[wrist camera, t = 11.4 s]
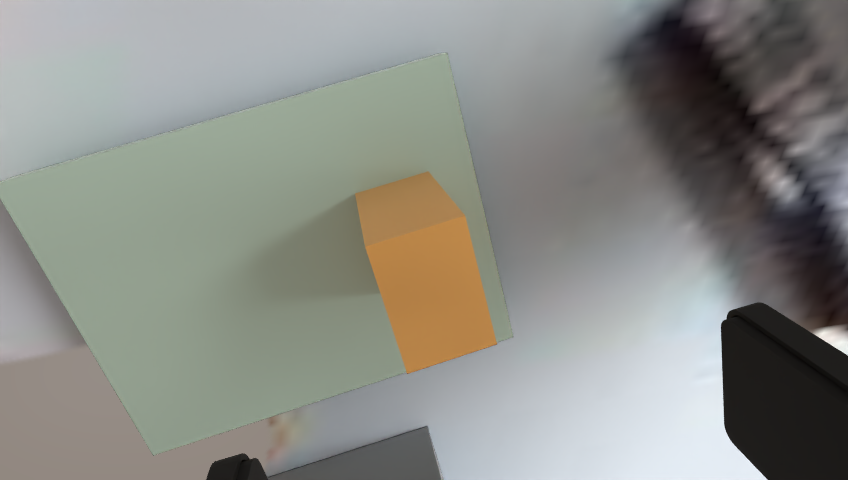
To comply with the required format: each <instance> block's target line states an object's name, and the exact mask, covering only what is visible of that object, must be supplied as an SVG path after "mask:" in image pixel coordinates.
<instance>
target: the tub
mask: <svg viewBox="0 0 848 480" xmlns="http://www.w3.org/2000/svg"><path fill="white" fill-rule="evenodd" d="M268 480H444V479H443V476H442V472H441V469H440V466H439V463H438V459H437V456H436V453H435V450H434V446H433V443H432V440H431V437H430V433H429V430H428V427H424V428H421V429H418V430H414V431H411V432H408V433H405V434H402V435H399V436H396V437H393V438H390V439H386V440H383V441H380V442H377V443H374V444H371V445H368V446H365V447H362V448H358V449H355V450H352V451H349V452H346V453H343V454H340V455H337V456H334V457H330V458H327V459H324V460H321V461H318V462H315V463H312V464H309V465H306V466H302V467H299V468H296V469H293V470H290V471H287V472H284V473H281V474H278V475H275V476H271V477H268Z"/></svg>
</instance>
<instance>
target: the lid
mask: <svg viewBox="0 0 848 480" xmlns="http://www.w3.org/2000/svg"><path fill="white" fill-rule="evenodd" d="M0 199H1V201H2V203H3V204H4V206H5V208H6V209H7V211H8V213H9V214H10V216H11V218H12V219H13V221H14V223H15V224H16V226H17V228H18V229H19V231H20V233H21V234H22V236H23V238H24V239H25V241H26V243H27V245H28V246H29V248H30V250H31V251H32V253H33V255H34V256H35V258H36V260H37V261H38V263H39V265H40V266H41V268H42V270H43V271H44V273H45V275H46V276H47V278H48V280H49V282H50V283H51V285H52V287H53V288H54V290H55V292H56V293H57V295H58V297H59V298H60V300H61V302H62V303H63V305H64V307H65V308H66V310H67V312H68V313H69V315H70V317H71V318H72V320H73V322H74V324H75V325H76V327H77V329H78V330H79V332H80V334H81V335H82V337H83V339H84V340H85V342H86V344H87V345H88V347H89V349H90V350H91V352H92V354H93V355H94V357H95V359H96V361H97V362H98V364H99V366H100V367H101V369H102V371H103V372H104V374H105V375H106V377H107V379H108V380H109V382H110V384H111V386H112V387H113V389H114V391H115V392H116V394H117V396H118V397H119V399H120V400H121V403H122V404H123V406H124V407H125V409H126V411H127V413H128V414H129V416H130V418H131V419H132V421H133V423H134V424H135V426H136V428H137V429H138V431H139V433H140V434H141V436H142V438H143V439H144V441H145V443H146V445H147V446H148V448H149V450H150V451H151V453H152V455H153V456H154V455H157V454H160V453H163V452H166V451H169V450H172V449H175V448H178V447H181V446H185V445H188V444H191V443H194V442H197V441H200V440H202V439H206V438H209V437H212V436H215V435H218V434H221V433H224V432H227V431H230V430H233V429H236V428H239V427H242V426H245V425H248V424H251V423H254V422H257V421H260V420H263V419H266V418H269V417H272V416H275V415H279V414H282V413H285V412H288V411H291V410H294V409H297V408H300V407H303V406H306V405H309V404H312V403H315V402H318V401H321V400H324V399H327V398H330V397H333V396H336V395H339V394H342V393H345V392H348V391H351V390H354V389H357V388H360V387H363V386H366V385H369V384H373V383H376V382H379V381H382V380H385V379H388V378H391V377H394V376H397V375H400V374H403V373H406V372H407V374H408V373H411V372H415V371H418V370H421V369H424V368H427V367H430V366H433V365H436V364H439V363H442V362H445V361H448V360H451V359H454V358H457V357H460V356H463V355H466V354H469V353H472V352H475V351H478V350H481V349H484V348H487V347H490V346H493V345H496V344H497V342H500V341H503V340H506V339H509V338H512V337H513V333H512V329H511V325H510V320H509V316H508V312H507V307H506V303H505V299H504V294H503V290H502V286H501V282H500V277H499V273H498V269H497V264H496V260H495V256H494V252H493V247H492V243H491V239H490V234H489V230H488V226H487V221H486V217H485V213H484V209H483V204H482V200H481V196H480V191H479V187H478V183H477V178H476V174H475V170H474V166H473V161H472V157H471V153H470V148H469V144H468V140H467V136H466V131H465V127H464V123H463V118H462V114H461V110H460V105H459V101H458V97H457V93H456V88H455V84H454V80H453V75H452V71H451V67H450V62H449V58H448V54H447V53H438V54H435V55H432V56H428V57H425V58H421V59H418V60H414V61H411V62H407V63H404V64H400V65H397V66H394V67H390V68H387V69H383V70H380V71H376V72H373V73H369V74H366V75H362V76H359V77H355V78H352V79H349V80H345V81H342V82H338V83H335V84H331V85H328V86H324V87H321V88H317V89H314V90H311V91H307V92H304V93H300V94H297V95H293V96H290V97H286V98H283V99H279V100H276V101H273V102H269V103H266V104H262V105H259V106H255V107H252V108H248V109H245V110H241V111H238V112H234V113H231V114H228V115H224V116H221V117H217V118H214V119H210V120H207V121H203V122H200V123H196V124H193V125H190V126H186V127H183V128H179V129H176V130H172V131H169V132H165V133H162V134H158V135H155V136H152V137H148V138H145V139H141V140H138V141H134V142H131V143H127V144H124V145H120V146H117V147H113V148H110V149H107V150H103V151H100V152H96V153H93V154H89V155H86V156H82V157H79V158H75V159H72V160H69V161H65V162H62V163H58V164H55V165H51V166H48V167H44V168H41V169H37V170H34V171H31V172H27V173H24V174H20V175H17V176H13V177H10V178H8V179H5V180H3V181H0Z"/></svg>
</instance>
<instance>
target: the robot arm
mask: <svg viewBox="0 0 848 480" xmlns="http://www.w3.org/2000/svg"><path fill="white" fill-rule="evenodd" d="M721 341H722V371H723V400H724V425H725V429H726V432H727V434H728V437H729V438H730V440H731V441H732V443H733V444H734V445H735V446H736V447H737V448H738V449H739V450H740V451H741V452H742V453H743V454H744V455H745V456H746V458H747V459H748V460H749V461H750V462H751V463H752V464H753V465H754V466H755V467H756V468H757V469H758V470H759V471H760V472H761V473H762V474H763V475H764V476H765V477H766V478H767V479H768V480H848V356H847V355H846V354H844V353H843V352H841V351H839V350H838V349H836V348H835V347H833V346H832V345H830V344H828V343H827V342H825V341H824V340H822V339H820V338H819V337H817V336H816V335H814V334H812V333H811V332H809V331H808V330H806V329H804V328H803V327H801V326H800V325H798V324H796V323H795V322H793V321H792V320H790V319H789V318H787V317H785V316H784V315H782V314H781V313H779V312H777V311H776V310H774V309H773V308H771V307H769V306H768V305H766V304H764V303H754V304H751V305H747V306H744V307H740V308H737V309H734V310H731V311H729V313H728V315H727V320H724V321H723V322H722V324H721ZM206 480H268V478H267V476H266V474H265V472H264V470H263V468H262V466H261V463H260V462H259V460H258V459H256V458H253V459H249V458H248V456H247V455H246V454H239V455H235V456H232V457H229V458H225V459H222V460H219V461H215V462H214V463H212V465H211V467H210V470H209V473H208V476H207V479H206Z"/></svg>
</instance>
